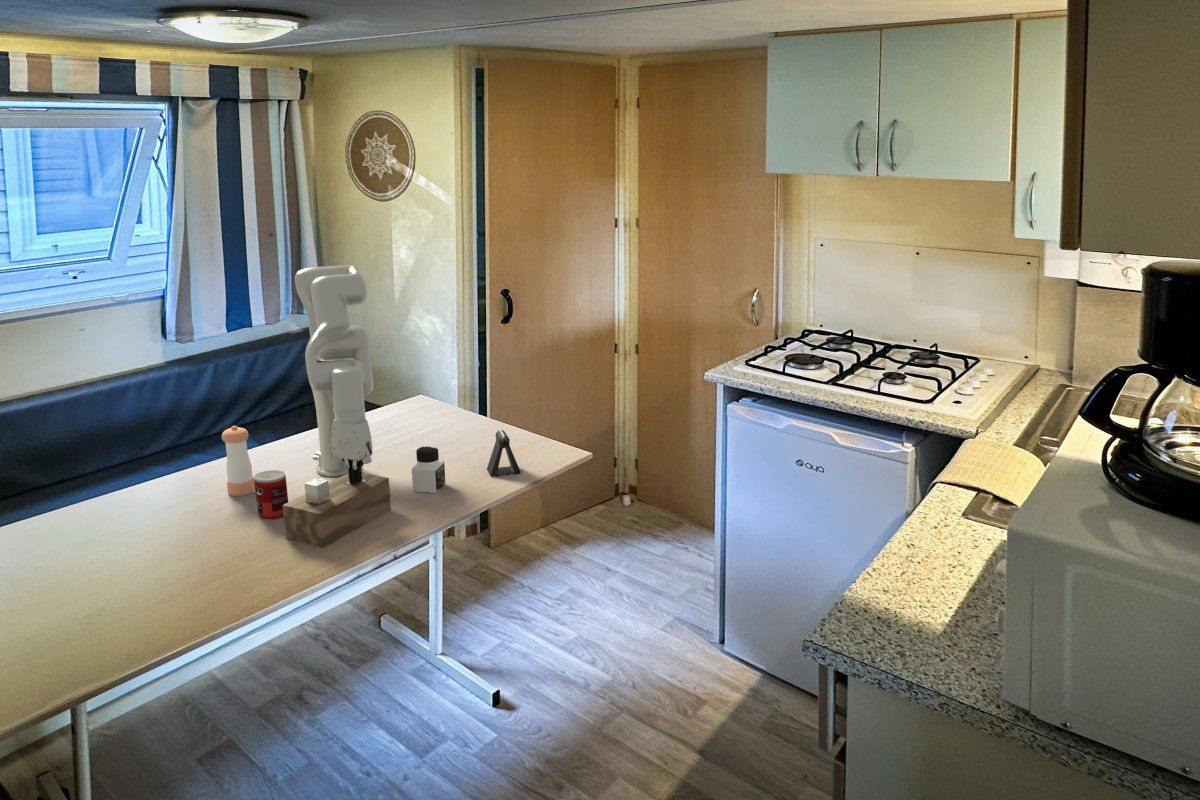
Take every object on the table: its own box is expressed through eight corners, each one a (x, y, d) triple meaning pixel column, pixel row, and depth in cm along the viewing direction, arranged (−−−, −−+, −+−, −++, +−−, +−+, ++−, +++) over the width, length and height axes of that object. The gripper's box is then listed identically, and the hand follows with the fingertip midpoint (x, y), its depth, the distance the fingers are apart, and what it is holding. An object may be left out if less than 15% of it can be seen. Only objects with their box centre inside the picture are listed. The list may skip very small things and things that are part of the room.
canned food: (262, 509, 257) (257, 470, 254) (292, 507, 258) (288, 469, 255) (254, 520, 250) (249, 481, 247) (286, 519, 250) (281, 480, 247)
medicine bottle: (437, 493, 267) (434, 453, 263) (412, 492, 268) (410, 451, 265) (445, 484, 273) (443, 444, 270) (422, 482, 275) (419, 443, 271)
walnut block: (286, 538, 239) (282, 505, 237) (355, 501, 261) (353, 470, 259) (323, 547, 234) (319, 513, 231) (391, 509, 256) (388, 478, 254)
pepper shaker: (261, 488, 271) (253, 424, 265) (241, 497, 265) (233, 431, 259) (241, 484, 274) (234, 420, 268) (222, 493, 268) (213, 428, 262)
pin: (307, 513, 239) (304, 483, 237) (318, 507, 243) (315, 478, 240) (319, 516, 237) (316, 486, 235) (330, 510, 241) (328, 480, 238)
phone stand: (516, 466, 287) (515, 428, 283) (520, 473, 281) (519, 434, 278) (486, 470, 284) (485, 431, 281) (490, 477, 279) (488, 438, 275)
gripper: (317, 415, 246) (323, 482, 251) (363, 422, 239) (368, 491, 244) (337, 407, 252) (343, 473, 257) (382, 414, 246) (387, 481, 251)
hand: (355, 481), depth 251 cm, fingers closed
